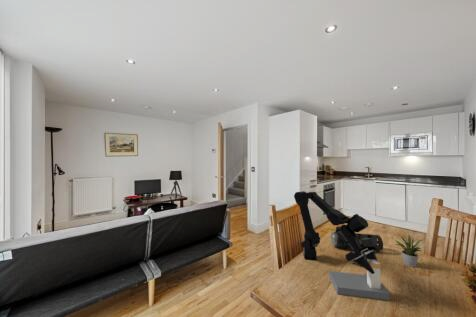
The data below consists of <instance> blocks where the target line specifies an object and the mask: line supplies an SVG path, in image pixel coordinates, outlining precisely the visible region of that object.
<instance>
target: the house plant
mask: <svg viewBox="0 0 476 317" xmlns="http://www.w3.org/2000/svg"><path fill="white" fill-rule="evenodd" d="M397 236H399V237H400V239H401V240H402V243H401V242H400V241H398V240H397V239H394V238H392V240H393V241H395V242H396V243H395V244H394V246H400V247H401V248H402V249H403V250H401V257H402V261H403V262H402V263H403V264H404V265H406V266H407V267H410V268H417V264H418V259H419V255H418V253H416V252H420V253H422V248H421V247H418V246H420V244H421V242H423V241H425V239H419V238H416V239H415V240H414V238H411V235H410V234H408V238H406V237H405V236H403V235H399V234H397ZM414 243H415V244H414Z"/></svg>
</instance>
